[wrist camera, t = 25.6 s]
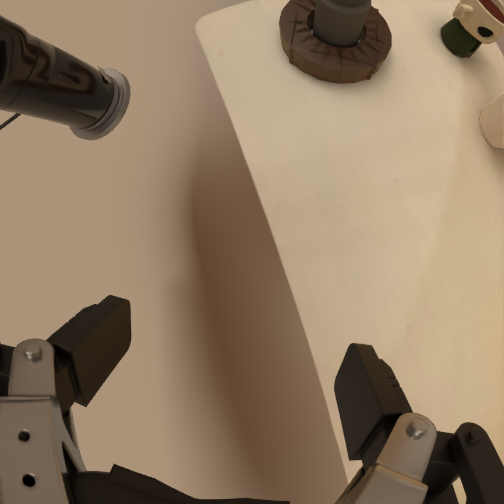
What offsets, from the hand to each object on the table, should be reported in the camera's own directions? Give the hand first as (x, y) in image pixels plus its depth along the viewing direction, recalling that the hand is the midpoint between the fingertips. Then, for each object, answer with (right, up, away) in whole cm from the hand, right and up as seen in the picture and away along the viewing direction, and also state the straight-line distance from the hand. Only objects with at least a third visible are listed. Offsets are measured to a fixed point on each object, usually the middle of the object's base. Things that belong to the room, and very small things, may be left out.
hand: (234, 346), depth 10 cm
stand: (+11, +31, +19) cm, 39 cm away
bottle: (+12, +31, +20) cm, 39 cm away
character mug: (+32, +36, +16) cm, 51 cm away
